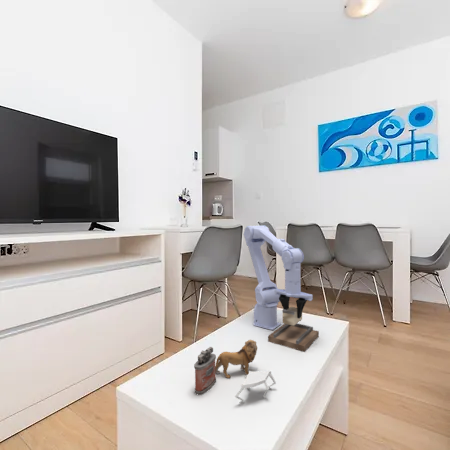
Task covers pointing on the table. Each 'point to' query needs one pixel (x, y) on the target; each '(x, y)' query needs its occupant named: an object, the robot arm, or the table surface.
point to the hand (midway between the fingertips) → (293, 316)
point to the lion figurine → (237, 358)
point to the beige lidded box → (290, 316)
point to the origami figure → (256, 381)
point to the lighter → (205, 371)
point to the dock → (294, 336)
